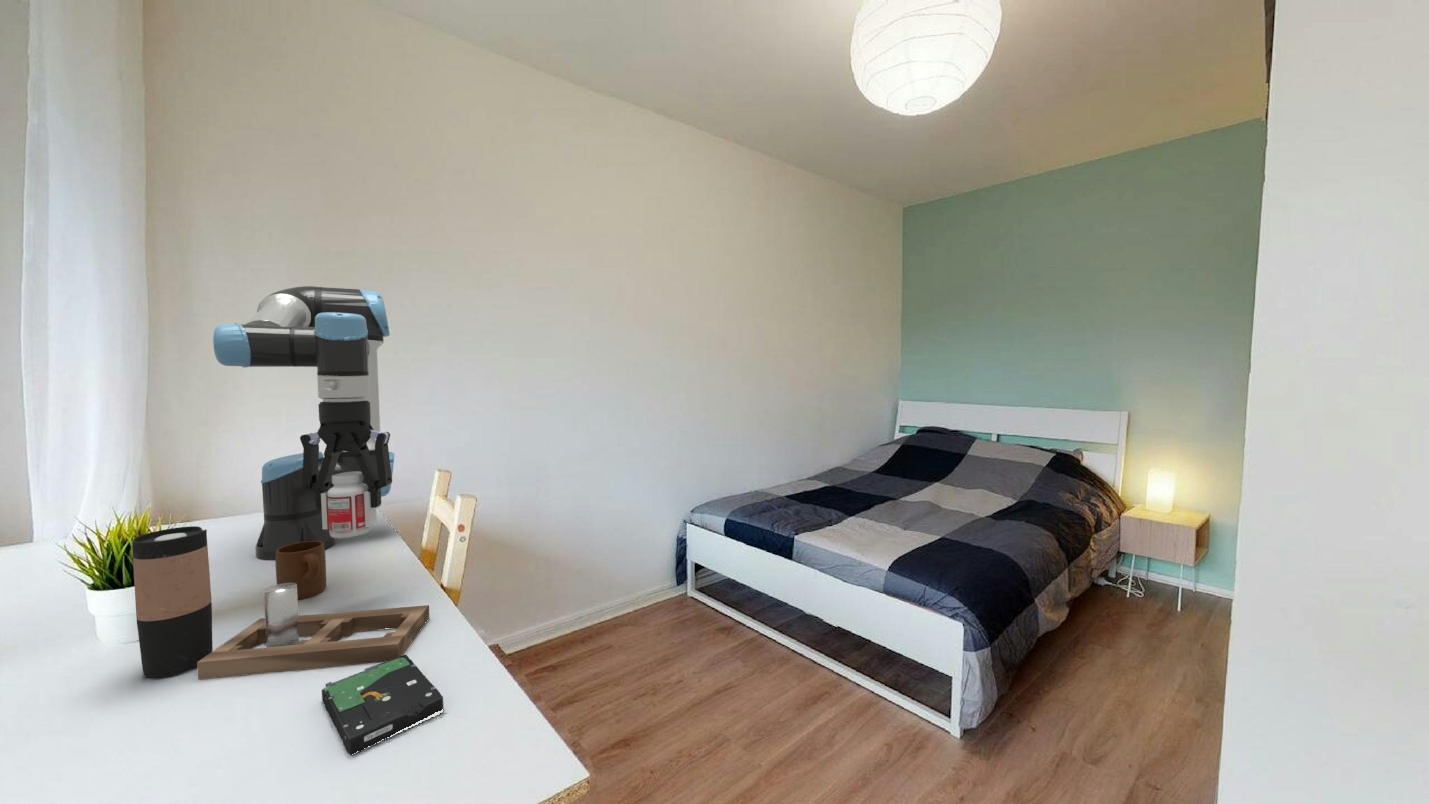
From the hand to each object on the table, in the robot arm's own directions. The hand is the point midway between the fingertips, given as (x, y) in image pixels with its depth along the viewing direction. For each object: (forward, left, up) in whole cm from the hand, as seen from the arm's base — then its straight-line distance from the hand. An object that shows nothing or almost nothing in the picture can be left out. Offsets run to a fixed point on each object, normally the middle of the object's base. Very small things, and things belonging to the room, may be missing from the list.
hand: (350, 525), depth 92 cm
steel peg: (+13, -4, -16) cm, 21 cm away
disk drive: (+31, +17, -16) cm, 39 cm away
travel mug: (+15, -17, -16) cm, 27 cm away
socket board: (+13, +2, -16) cm, 21 cm away
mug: (-8, -12, -16) cm, 21 cm away
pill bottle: (0, 0, -2) cm, 2 cm away
